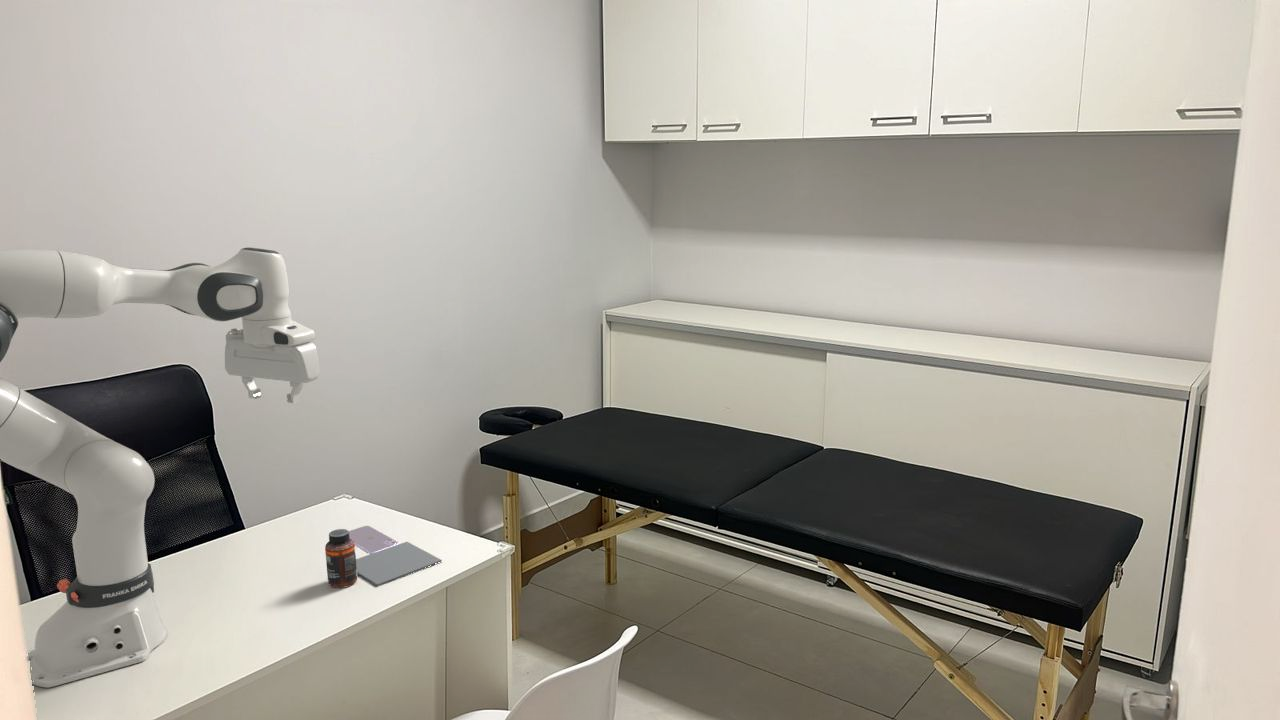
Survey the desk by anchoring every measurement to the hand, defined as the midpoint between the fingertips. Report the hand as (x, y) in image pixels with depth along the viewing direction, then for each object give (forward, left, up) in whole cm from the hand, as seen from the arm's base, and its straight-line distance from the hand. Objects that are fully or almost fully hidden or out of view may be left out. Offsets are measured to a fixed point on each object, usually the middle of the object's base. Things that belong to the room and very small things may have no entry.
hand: (274, 400), depth 174 cm
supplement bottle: (+9, -5, -41) cm, 42 cm away
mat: (+21, -5, -41) cm, 46 cm away
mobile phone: (+24, +10, -41) cm, 49 cm away
